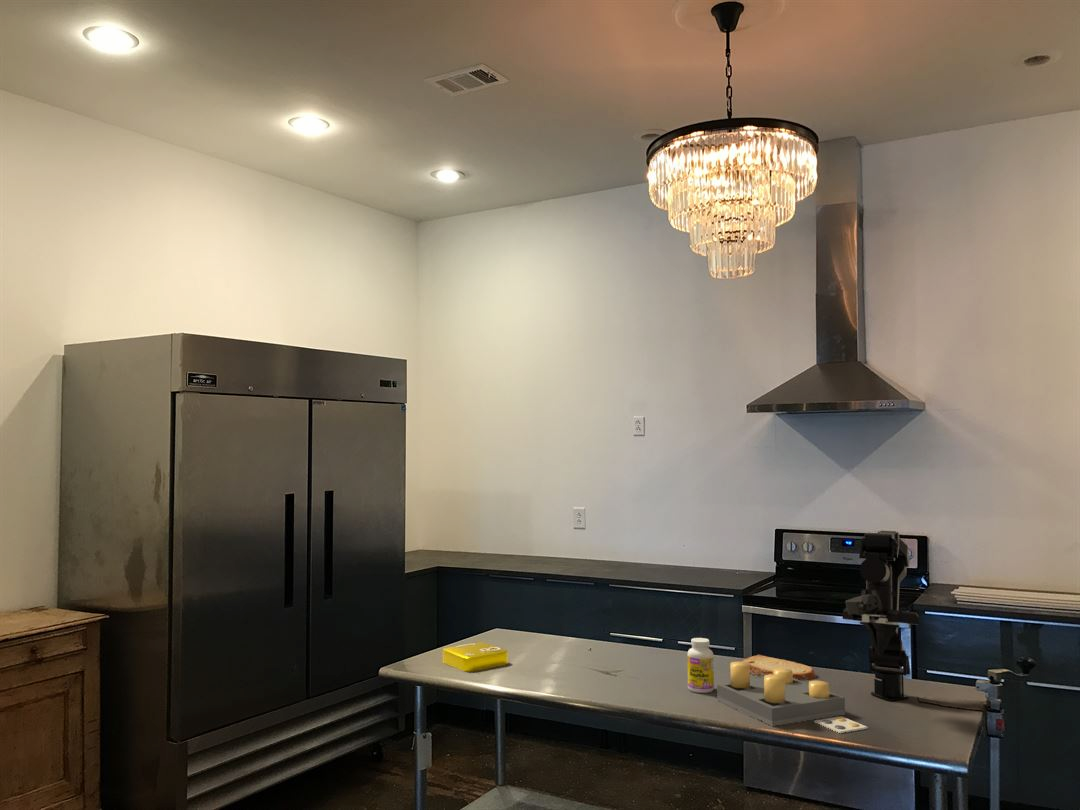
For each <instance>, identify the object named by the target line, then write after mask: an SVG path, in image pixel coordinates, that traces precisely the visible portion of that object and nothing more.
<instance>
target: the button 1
mask: <svg viewBox="0 0 1080 810" xmlns="http://www.w3.org/2000/svg"><path fill="white" fill-rule="evenodd" d="M729 667H730V683H731V686H732V687H736V688H748V687H750V680H751V674H750V664H749V663H746V662H741V661H731V662H730V665H729Z"/></svg>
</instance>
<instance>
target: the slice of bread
mask: <svg viewBox="0 0 1080 810" xmlns="http://www.w3.org/2000/svg"><path fill="white" fill-rule="evenodd" d="M740 662H746V663H749V664H750V675H751V674H752V675H751V676H756V675H757V677H761V676H765V675H773V670H774V669H777V668H784V669H789V670H792V674H793V678H794V679H807V680H811V679H810V678H813V679H815V678H814V677H816V678H817V674H816V673H815V670H814V669H813V667H811V666H808V665H806V664H803V663H798V662H796V661H792V660H786V659H780V658H775V657H770V656H766V655H762V654H757V655H753V656H749V657H747V658H744V659H743V660H741V661H740Z"/></svg>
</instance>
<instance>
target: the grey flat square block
mask: <svg viewBox="0 0 1080 810" xmlns="http://www.w3.org/2000/svg"><path fill="white" fill-rule="evenodd" d="M716 689H717V692H716V693H717V695H716V696H717V697H716V699H717V702H719V701H720V702H719V703H721V702H722V703H721V704H723V703H725V704H727V705H729V706H728V707H730V706H731V707H730V708H732V707H733V708H732V709H734V708H736V709H738V710H740V711H742V712H744V713H746V714H748V715H747V716H749V715H751V716H753V717H755V718H757V719H759V720H762V721H763V722H766V723H768V724H769V725H768V724H767V725H768V726H770V725H772V726H774V725H780V724H786V725H788V724H787V723H792V724H794V723H793V722H798V723H800V722H799V721H804V722H806V721H805V720H810V721H815V720H814V719H816V720H821V719H820V718H822V719H828V718H834V717H833V716H835V717H840V716H839V715H841V716H845V715H846V703H845V702H846V697H844V696H842V695H840V694H837V693H834V692H831V691H829V694H830V698H823V699H816V698H814V697H811V696H809V682H808V683H807V682H804V681H803V680H797V679H794V678H793V683H791V684H785V702H783V703H771V702H767V701H765V699H764V677H762V678H755V679H750V687H748V688H736V687H732V686H731V682H725V683H724V682H723V683H719V684H716ZM725 704H724V705H725ZM727 705H726V706H727ZM736 709H735V710H736ZM738 710H737V711H738ZM740 711H739V712H740ZM742 712H741V713H742ZM744 713H743V714H744ZM746 714H745V715H746ZM751 716H750V717H751ZM753 717H752V718H753ZM827 717H828V718H827ZM755 718H754V719H755ZM757 719H756V720H757ZM759 720H758V721H759ZM763 722H762V723H763ZM772 726H771V727H772ZM780 726H781V725H780ZM774 727H775V726H774Z"/></svg>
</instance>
